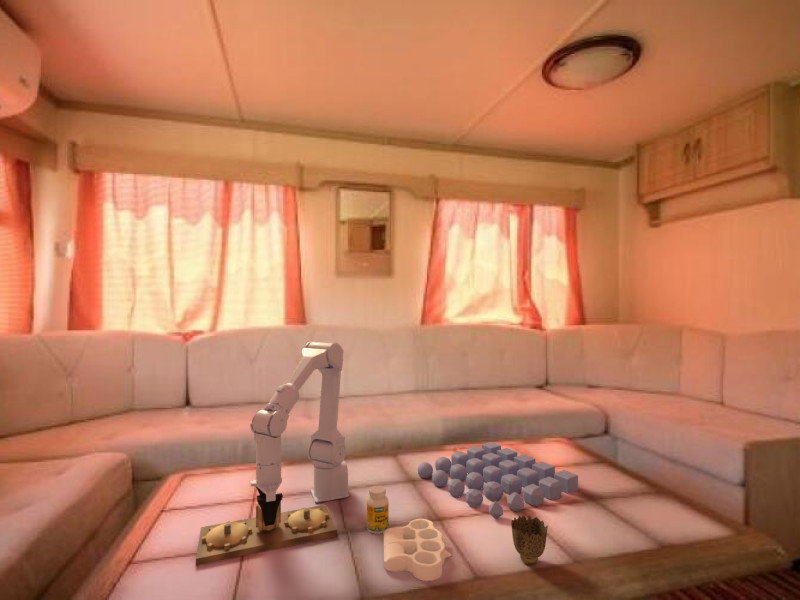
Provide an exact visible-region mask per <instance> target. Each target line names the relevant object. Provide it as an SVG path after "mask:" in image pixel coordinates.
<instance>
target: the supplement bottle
mask: <svg viewBox="0 0 800 600" xmlns="http://www.w3.org/2000/svg"><path fill="white" fill-rule="evenodd" d="M368 495H369V496H367V499H366V529H367V531H368V532H369V533H371V534H374V535H379V534H384V531H385V530H387V529H389V526H390V525H389V524H390V523H389V519H390V518H389V517H390V516H389V515H390V514H389V512H390V511H389V507H390V506H389V503H390V501H389V498H388V496H386V487H384V486H382V485H374V486H371V487H370V488H369V493H368Z"/></svg>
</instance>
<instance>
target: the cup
mask: <svg viewBox="0 0 800 600" xmlns="http://www.w3.org/2000/svg"><path fill="white" fill-rule="evenodd" d="M510 525H511V532H512V533H511V534H512V535H511V536H512V540H513V546H514V548H515V550H516V552H517V553H518V554H519V557H520V560H521V561H522V563H524V564H526V565H529V566H534V565H537V564H538V562H539V558H540V557H541V556H543V554H544V552H545V549H546V545H547V544H546V543H547V538H548V537H547V536H548V525H546V526H545V522H544V520H540V518H538V517H537V516H536V517H534V518H532V516H531V515H528V516H525V515H519V516H518V517H517V518H516V517H513V519H511V520H510Z"/></svg>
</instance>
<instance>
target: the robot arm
mask: <svg viewBox="0 0 800 600" xmlns="http://www.w3.org/2000/svg"><path fill="white" fill-rule="evenodd" d="M343 361H344V349H343V348H342V346H341V345H340V343H338V342H321V341H320V342H319V341H313V340H312V341H311V340H310V341H308V342H307V343H306V344H305V345H304V348H302V350H301V360H300V361H299V363H298V364H297V365H296V368H295V369H294V371H293V372H292V375H291V377H289V378H290V379H289V380H288V382H287V383H284V384H281V385H279V386H278V387H277V388H276V391H275V392H274V394H273V395H272V397H271V398H270V400H269V401H268V402H267V404H266V405H265V406H264V408H263V409H260V410H259V411H257V412H256V413H254V415H253V417H252V419H251V422H250V424H249V425H250V430H251V432H252V433H253V436H254V437H253V438H254V439H253V440H254V441H255V479H253V480H250V486H251V487H255V488H256V490H257V492H258V494H259V495H256V501H257V504H259V505H260V507H261V510H262V514H263V520H264V524H265V526H269V525H274V523H275V520H276V514H277V510H278V506H279V504H280V502H281V503H282V500H283V498H284V497H283V496H284V494H283V493H282V492H280V493H277V491H278V489H279V488H280V486H281V484H282V482H283V477H282V434H284V432H285V431H286V429H287V426H288V420H289V416H290V415H289V414H290V413H291V411H292V410H293V408H294V407H295V405H296V404H297V402H298V400H299V399H300V397H301V396H300V390H301V388H302V387H303V386H304V384H305V383H306V381H307V380H308V379H309V378H310V377H311V375H312V374H313V373H314V371H315V370H318V371H319V372H320V374H321V389H320V401H319V402H320V403H319V414H318V428H317V430H315V431H314V432H313V433H312V434H311V435H310V442H309V444H308V447H307V457H308V459H309V460H311V465H313V488H311V489H310V492H311V495H312V498H313V501H314V503H316V504H319V503H322V502H327V501H333V500H334V501H335V500H339V499H346V498H349V471H348V470H349V469H348V464H347V462H346V461H345V460H344V459H345V458H346V453H347V448H346V444H345V436H344V434H342V433H341V432H340V430H338V421H339V420H338V418H339V417H338V416H339V405H340V404H339V403H340V390H341V387H340V386H341V375H342V374H341V373H342V371H343V364H344V363H343Z"/></svg>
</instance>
